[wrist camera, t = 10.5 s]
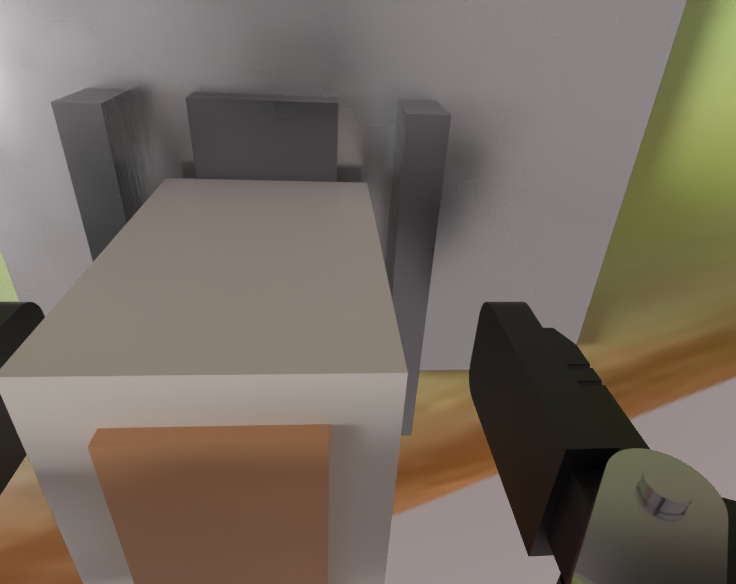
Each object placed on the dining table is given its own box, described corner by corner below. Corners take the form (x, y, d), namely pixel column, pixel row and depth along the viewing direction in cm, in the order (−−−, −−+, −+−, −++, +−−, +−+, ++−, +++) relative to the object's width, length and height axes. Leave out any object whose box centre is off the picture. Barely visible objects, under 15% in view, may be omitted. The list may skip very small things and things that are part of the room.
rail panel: (-91, -113, 9) (-221, -145, 7) (675, -62, 10) (767, -76, 8) (72, 378, 14) (29, 443, 12) (546, 373, 15) (580, 431, 13)
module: (165, 178, 10) (-23, 395, 5) (367, 182, 10) (410, 388, 5) (198, 373, 12) (101, 660, 7) (357, 371, 13) (380, 644, 7)
